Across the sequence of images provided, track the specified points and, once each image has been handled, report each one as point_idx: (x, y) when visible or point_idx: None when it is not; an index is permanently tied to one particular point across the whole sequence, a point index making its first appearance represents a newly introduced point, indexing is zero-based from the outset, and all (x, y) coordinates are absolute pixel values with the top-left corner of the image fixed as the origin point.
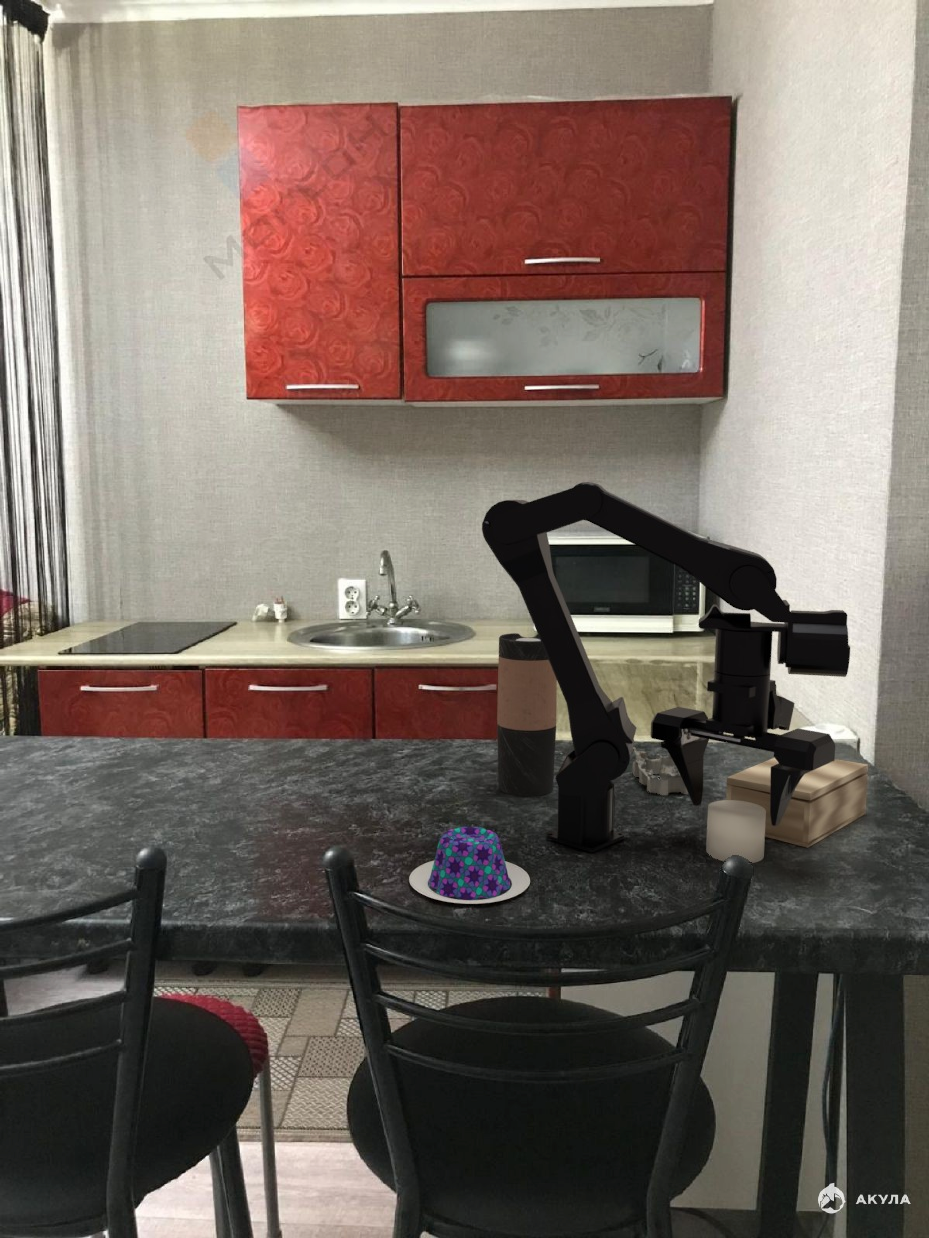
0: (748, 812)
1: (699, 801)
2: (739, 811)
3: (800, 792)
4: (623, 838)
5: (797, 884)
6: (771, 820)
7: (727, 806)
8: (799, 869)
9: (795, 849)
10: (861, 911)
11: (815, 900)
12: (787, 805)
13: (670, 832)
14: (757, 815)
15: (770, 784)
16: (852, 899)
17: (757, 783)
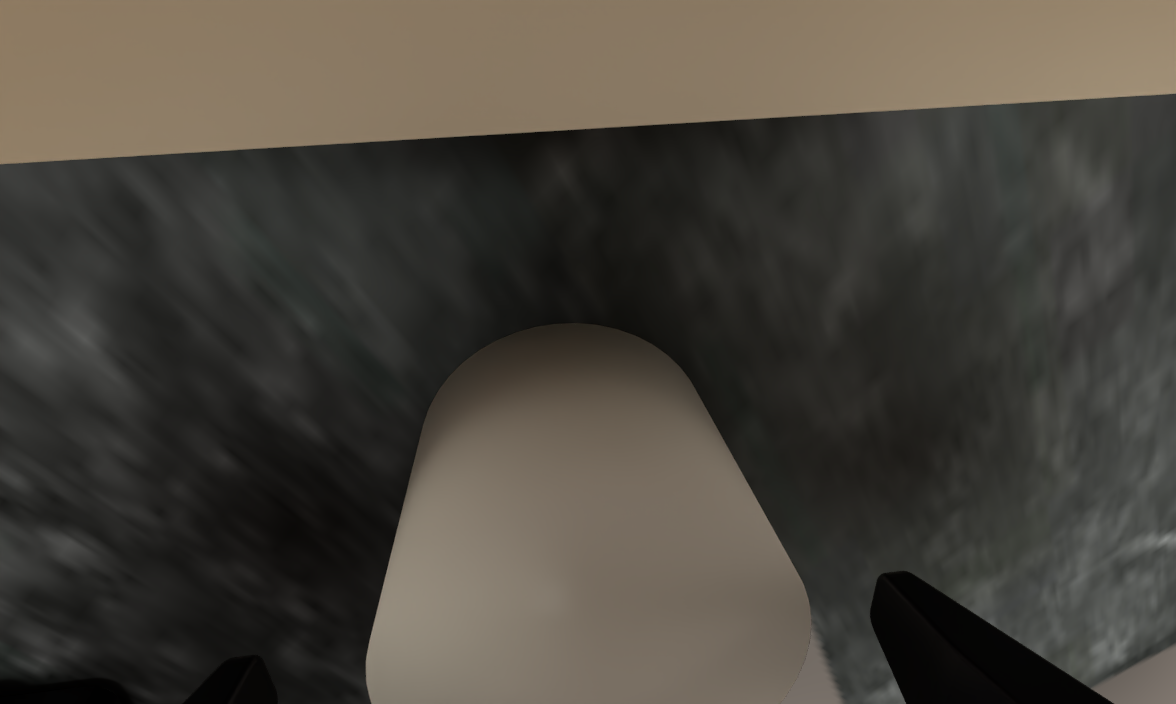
0: (703, 667)
1: (258, 699)
2: (644, 693)
3: (1100, 96)
4: (118, 700)
5: (925, 532)
6: (889, 660)
7: (513, 677)
8: (892, 402)
9: (788, 161)
10: (1160, 555)
11: (1011, 590)
12: (1061, 672)
13: (128, 469)
14: (780, 664)
15: (585, 47)
16: (1130, 500)
17: (387, 133)
